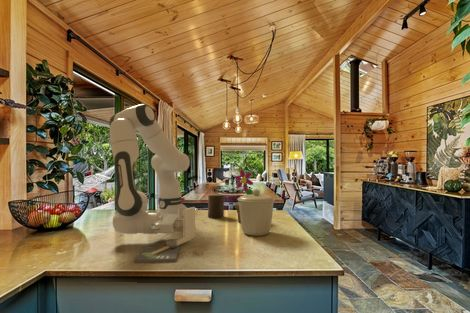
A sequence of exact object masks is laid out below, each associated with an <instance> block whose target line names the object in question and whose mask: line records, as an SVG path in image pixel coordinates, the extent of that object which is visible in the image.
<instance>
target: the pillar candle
mask: <svg viewBox="0 0 470 313" xmlns="http://www.w3.org/2000/svg"><path fill="white" fill-rule="evenodd" d="M207 196H208V202H207V203H208V204H207V217H208V218H209V219H222V217H223V218H224V216H225V215H224V213H225V212H224V211H225V210H224V209H225V207H224V206H225V202H224V201H225V194H223V193H209V194H208V195H207Z"/></svg>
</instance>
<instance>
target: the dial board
mask: <svg viewBox="0 0 470 313" xmlns="http://www.w3.org/2000/svg"><path fill="white" fill-rule="evenodd" d="M164 247H166V245H165V246H163V245H162V246H143V247H142V248H141V249H140V251H139V252H138V254H137V255H136V256H135V257H134V259H133V263H134V264H142V263H143V264H146V263H147V262H149V263H169V262H170V263H174V262H175V263H176V262H177V260H178V256H179V251H180V249H181V248H180V247H181V246H180V245H177V247H176V248H168V249H166V250H163V251H161V252H159V253H156V254H154V255H150V253H152V252H155V251H157V250H159V249H162V248H164Z"/></svg>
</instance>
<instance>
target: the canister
mask: <svg viewBox="0 0 470 313" xmlns="http://www.w3.org/2000/svg"><path fill="white" fill-rule="evenodd" d="M252 191H253V194H250V195H249V194H248V195H247V194H244V195H241V196H239V197H238V198H236V199H237V202H238V203H239V210H240V219H241V223H240V226H241V230H242V232H243V233H244V234H245V235H248V236H255V237H259V236H260V237H261V236H265V235H268V234H269V233H270V231H271V228H272V227H271V226H272V221H273V214H274V213H273V210H274V204H275V203H274V202H275V201H276V199H275V198H274V197H273V196H271V195H267V194H260V193H261V191H260V189H257V188H255V189H253V190H252Z"/></svg>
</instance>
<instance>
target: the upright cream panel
mask: <svg viewBox="0 0 470 313" xmlns="http://www.w3.org/2000/svg"><path fill="white" fill-rule="evenodd" d="M195 238H196V207H195V206H192V207H187V209H183V226H182V238H178V239H177V240H176V239H170V240H169V239H168V240H166V241H165V246H166V247H164V248H162V249H159V250H157V251H155V252H152V253H150V255H154V254H156V253H159V252H161V251H163V250H166V249H168V248H176V247H177V246H180V245H181V244H184V243H186V242H188V241H190V240H192V239H195Z"/></svg>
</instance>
